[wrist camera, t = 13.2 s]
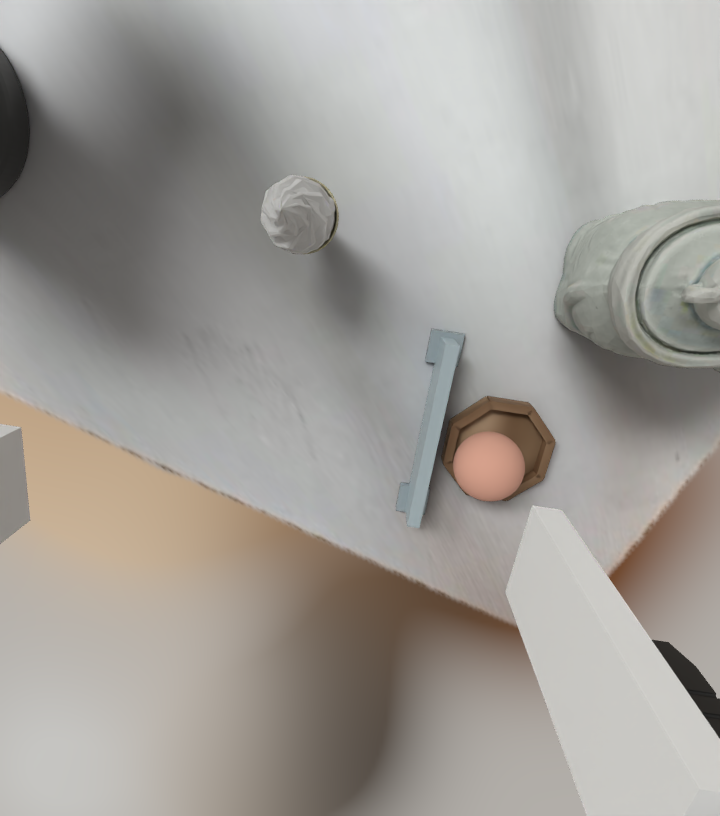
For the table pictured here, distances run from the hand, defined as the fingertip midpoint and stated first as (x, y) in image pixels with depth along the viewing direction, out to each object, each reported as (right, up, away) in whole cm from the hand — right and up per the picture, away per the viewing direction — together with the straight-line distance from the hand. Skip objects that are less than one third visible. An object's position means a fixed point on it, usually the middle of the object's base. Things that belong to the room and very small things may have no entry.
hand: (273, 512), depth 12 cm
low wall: (+9, +1, +34) cm, 35 cm away
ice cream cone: (-1, +19, +28) cm, 34 cm away
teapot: (+27, +14, +29) cm, 42 cm away
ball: (+16, -2, +34) cm, 37 cm away
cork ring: (+16, -1, +34) cm, 38 cm away
